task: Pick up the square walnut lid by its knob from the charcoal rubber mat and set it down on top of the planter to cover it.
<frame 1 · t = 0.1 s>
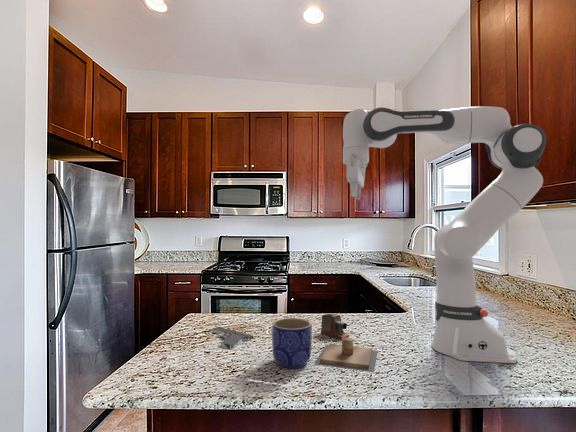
hand: (355, 198, 115), 48 cm above the counter, tool pointing down, fingers open, 8 cm apart
planter: (291, 364, 92), on the counter
electronic device: (334, 337, 116), on the counter
mat: (347, 358, 96), on the counter
lid: (347, 357, 96), resting on mat
handgun: (224, 340, 113), on the counter
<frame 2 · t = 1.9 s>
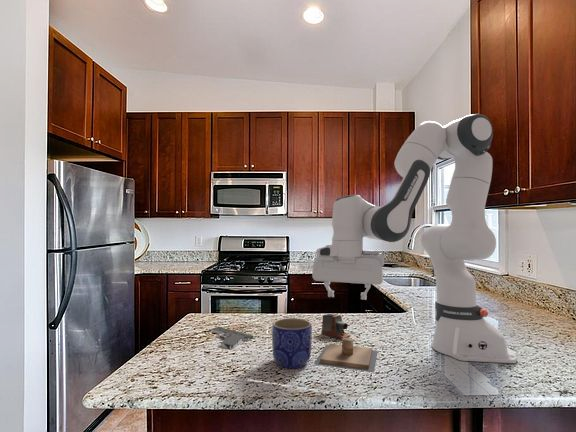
hand: (347, 298, 97), 17 cm above the counter, tool pointing down, fingers open, 8 cm apart
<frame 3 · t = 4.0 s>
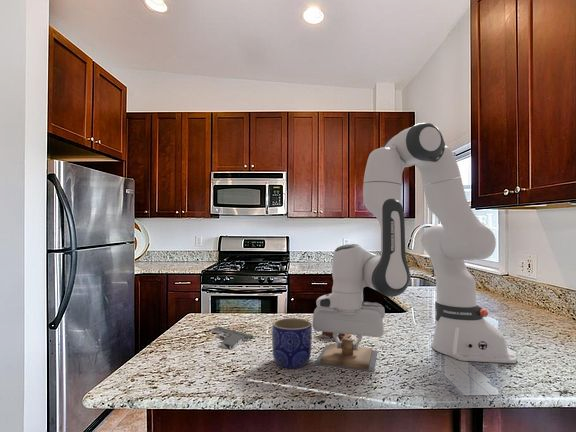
hand: (347, 348, 97), 3 cm above the counter, tool pointing down, fingers closed on lid, 3 cm apart
lid: (347, 357, 96), resting on mat, touching gripper
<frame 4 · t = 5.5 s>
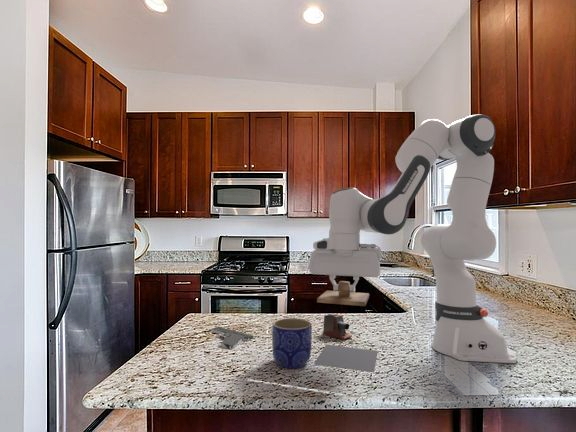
hand: (344, 291, 97), 19 cm above the counter, tool pointing down, fingers closed on lid, 3 cm apart
lid: (344, 299, 97), point 17 cm above the counter, touching gripper
everything else where it was.
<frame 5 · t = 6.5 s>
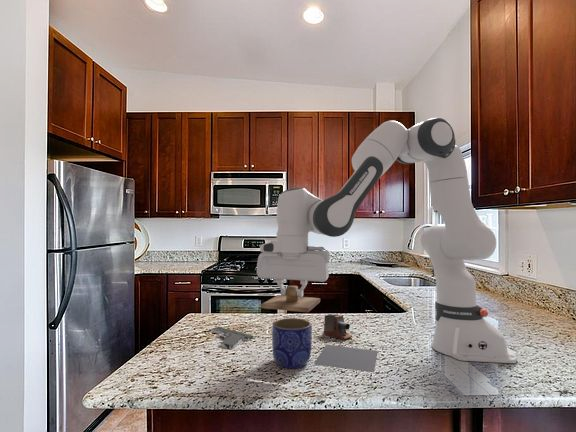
hand: (292, 295, 93), 19 cm above the counter, tool pointing down, fingers closed on lid, 3 cm apart
lid: (291, 304, 93), point 16 cm above the counter, touching gripper
when the fingers open (15 cm above the counter, at t = 7.3 s): lid drops 1 cm, resting on planter.
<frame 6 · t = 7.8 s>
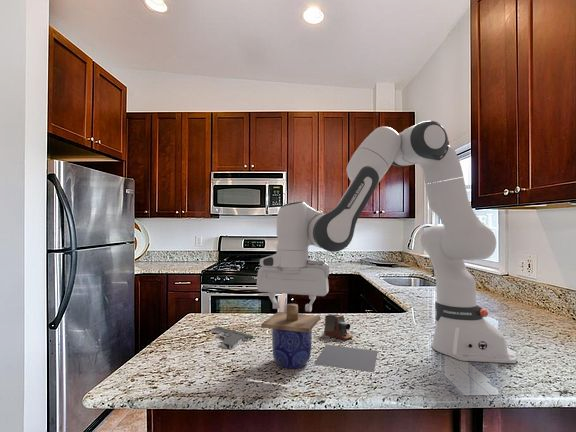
hand: (292, 309, 93), 15 cm above the counter, tool pointing down, fingers open, 8 cm apart
planter: (291, 364, 92), on the counter, touching lid
lid: (292, 323, 93), point 11 cm above the counter, touching planter
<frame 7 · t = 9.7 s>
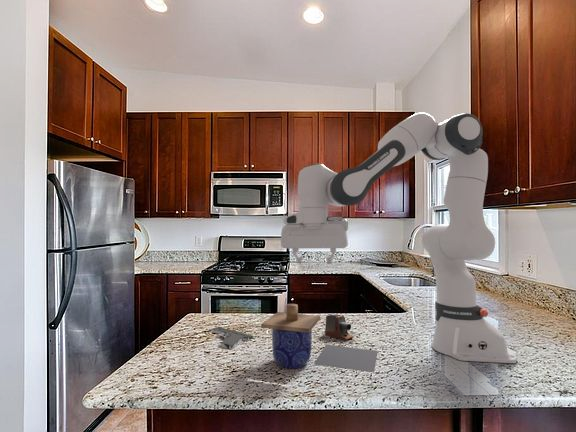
hand: (314, 263, 101), 27 cm above the counter, tool pointing down, fingers open, 8 cm apart
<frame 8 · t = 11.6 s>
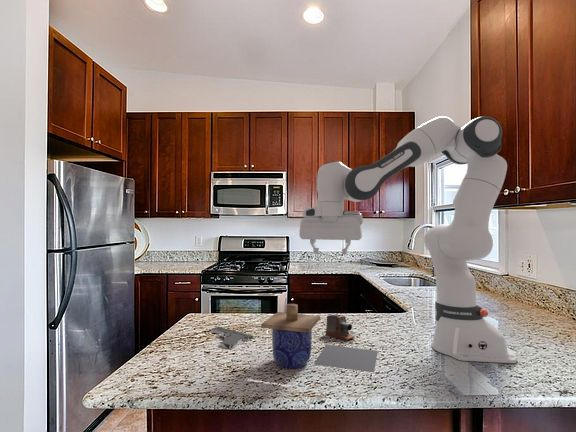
hand: (330, 253, 109), 29 cm above the counter, tool pointing down, fingers open, 8 cm apart
at the end: lid 0.0 cm from the planter (horizontally); lid point 11.1 cm above the counter; the gripper is holding nothing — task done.
